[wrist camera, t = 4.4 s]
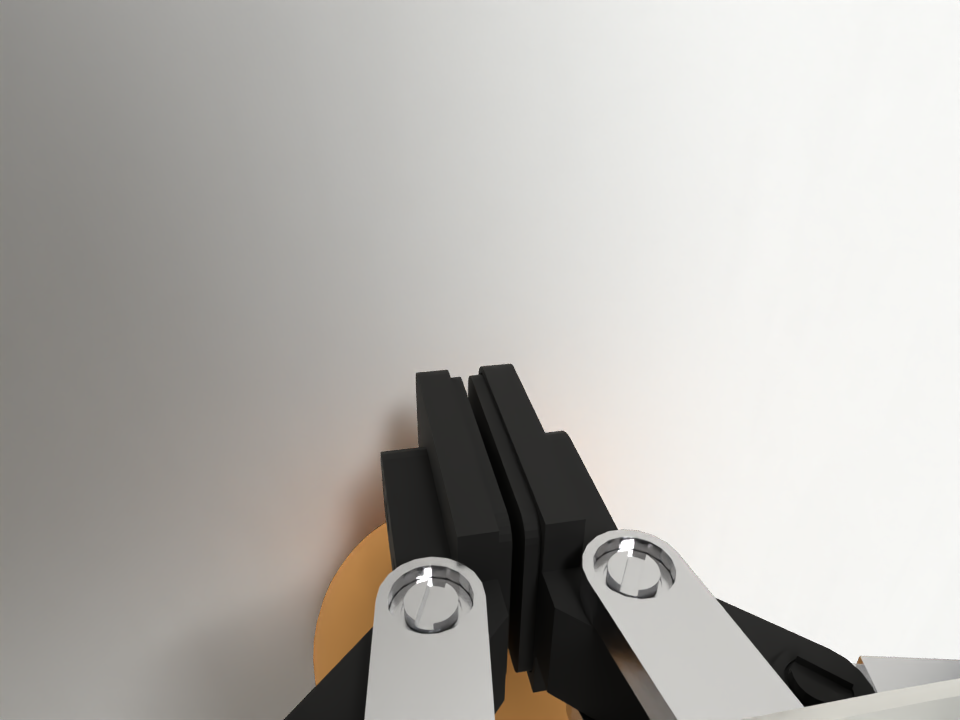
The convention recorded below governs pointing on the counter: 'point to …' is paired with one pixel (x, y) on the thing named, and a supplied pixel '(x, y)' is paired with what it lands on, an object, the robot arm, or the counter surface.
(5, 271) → the counter surface
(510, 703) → the ball
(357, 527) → the counter surface
